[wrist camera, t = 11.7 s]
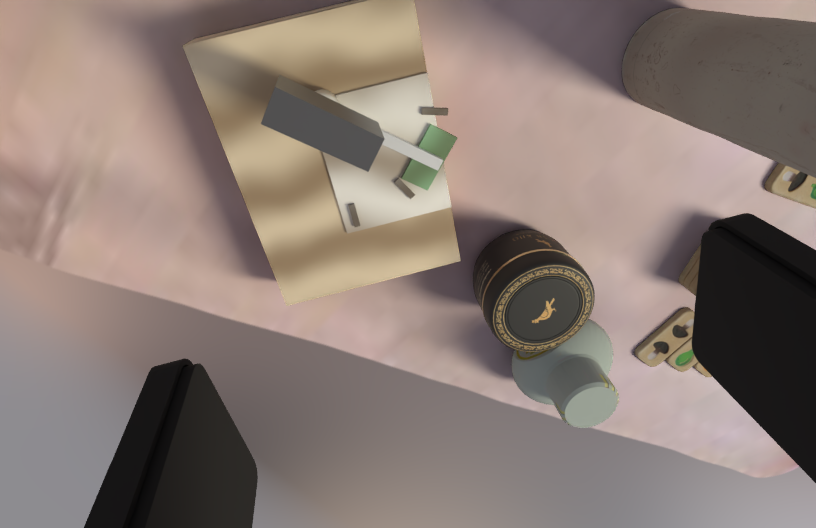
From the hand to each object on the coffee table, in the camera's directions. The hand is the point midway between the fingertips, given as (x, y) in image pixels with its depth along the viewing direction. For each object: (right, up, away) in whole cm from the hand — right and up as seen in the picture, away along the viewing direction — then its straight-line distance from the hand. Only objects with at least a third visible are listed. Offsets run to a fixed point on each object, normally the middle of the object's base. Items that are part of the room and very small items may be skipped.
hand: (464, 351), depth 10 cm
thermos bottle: (+21, +19, +35) cm, 45 cm away
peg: (-5, +12, +30) cm, 32 cm away
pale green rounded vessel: (+15, -7, +49) cm, 52 cm away
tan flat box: (-7, +11, +35) cm, 37 cm away
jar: (+10, +1, +43) cm, 45 cm away
